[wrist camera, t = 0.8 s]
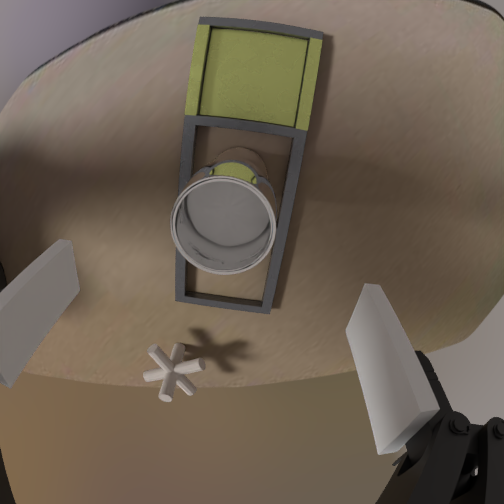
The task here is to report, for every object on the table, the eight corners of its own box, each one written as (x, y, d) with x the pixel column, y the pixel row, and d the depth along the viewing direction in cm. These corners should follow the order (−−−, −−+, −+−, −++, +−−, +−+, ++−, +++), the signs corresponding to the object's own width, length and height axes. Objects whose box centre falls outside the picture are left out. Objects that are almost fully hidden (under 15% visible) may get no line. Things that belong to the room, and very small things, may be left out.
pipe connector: (189, 314, 40) (173, 368, 31) (223, 359, 44) (216, 412, 35) (136, 332, 42) (115, 380, 34) (172, 372, 46) (159, 419, 38)
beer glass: (213, 209, 33) (182, 283, 20) (201, 149, 30) (154, 184, 17) (275, 200, 32) (285, 271, 19) (266, 138, 29) (271, 163, 16)
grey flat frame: (177, 295, 39) (175, 301, 38) (202, 19, 23) (199, 16, 22) (269, 308, 39) (269, 315, 38) (321, 34, 24) (323, 31, 22)
